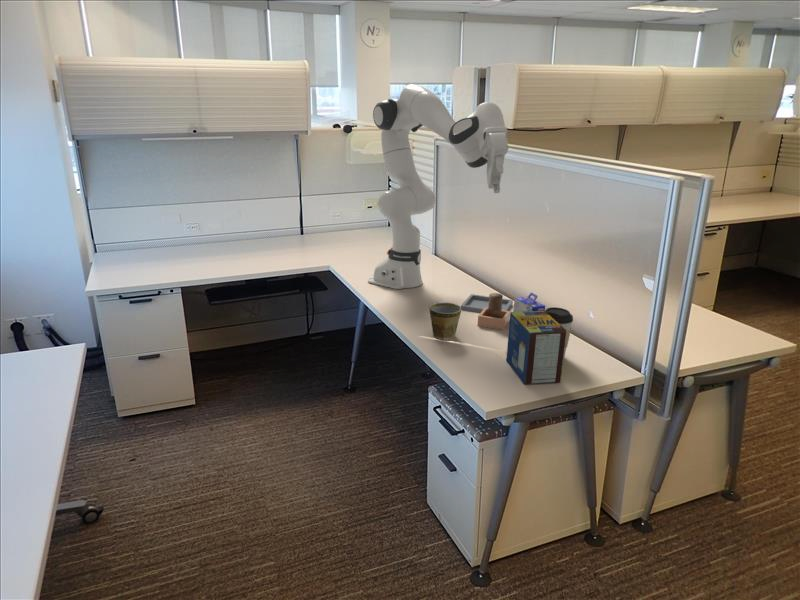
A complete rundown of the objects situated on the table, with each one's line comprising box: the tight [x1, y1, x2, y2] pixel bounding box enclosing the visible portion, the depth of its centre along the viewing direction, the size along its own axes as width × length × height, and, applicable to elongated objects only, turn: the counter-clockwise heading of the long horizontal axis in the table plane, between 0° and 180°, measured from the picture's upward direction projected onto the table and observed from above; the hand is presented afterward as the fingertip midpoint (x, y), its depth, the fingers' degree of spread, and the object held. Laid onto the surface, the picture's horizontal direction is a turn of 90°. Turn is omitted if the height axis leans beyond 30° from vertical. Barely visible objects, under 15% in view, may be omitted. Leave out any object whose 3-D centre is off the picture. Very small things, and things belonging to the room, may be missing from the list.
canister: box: [488, 292, 504, 318], centre depth 191 cm, size 4×4×10 cm
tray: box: [460, 293, 514, 314], centre depth 208 cm, size 16×14×2 cm
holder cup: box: [477, 308, 511, 331], centre depth 193 cm, size 9×9×4 cm
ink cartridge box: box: [512, 292, 546, 312], centre depth 181 cm, size 10×6×14 cm, turn 24°
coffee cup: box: [545, 306, 574, 361], centre depth 167 cm, size 9×9×15 cm
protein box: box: [505, 310, 567, 385], centre depth 158 cm, size 10×15×16 cm
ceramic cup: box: [429, 302, 462, 342], centre depth 182 cm, size 13×10×10 cm
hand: (498, 182), depth 172 cm, fingers open, 8 cm apart
